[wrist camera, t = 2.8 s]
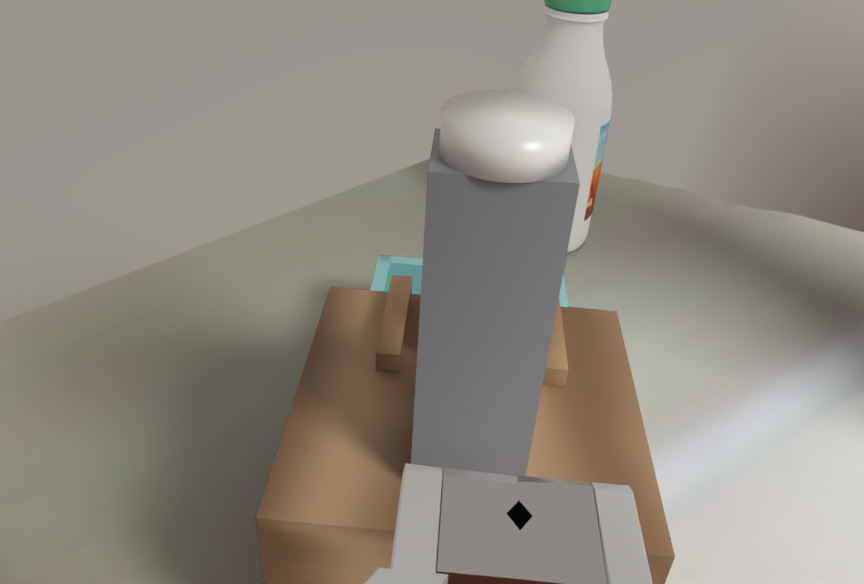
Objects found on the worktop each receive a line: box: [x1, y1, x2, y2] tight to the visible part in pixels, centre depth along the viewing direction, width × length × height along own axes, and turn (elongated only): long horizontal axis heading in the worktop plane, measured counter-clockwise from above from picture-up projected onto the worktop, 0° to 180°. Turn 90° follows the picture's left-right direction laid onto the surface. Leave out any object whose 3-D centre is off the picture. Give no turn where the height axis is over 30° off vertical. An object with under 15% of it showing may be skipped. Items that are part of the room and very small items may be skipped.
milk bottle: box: [513, 0, 612, 253], centre depth 57 cm, size 8×8×20 cm
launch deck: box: [256, 275, 675, 584], centre depth 33 cm, size 14×14×11 cm
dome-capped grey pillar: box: [411, 90, 580, 476], centre depth 24 cm, size 4×4×13 cm
